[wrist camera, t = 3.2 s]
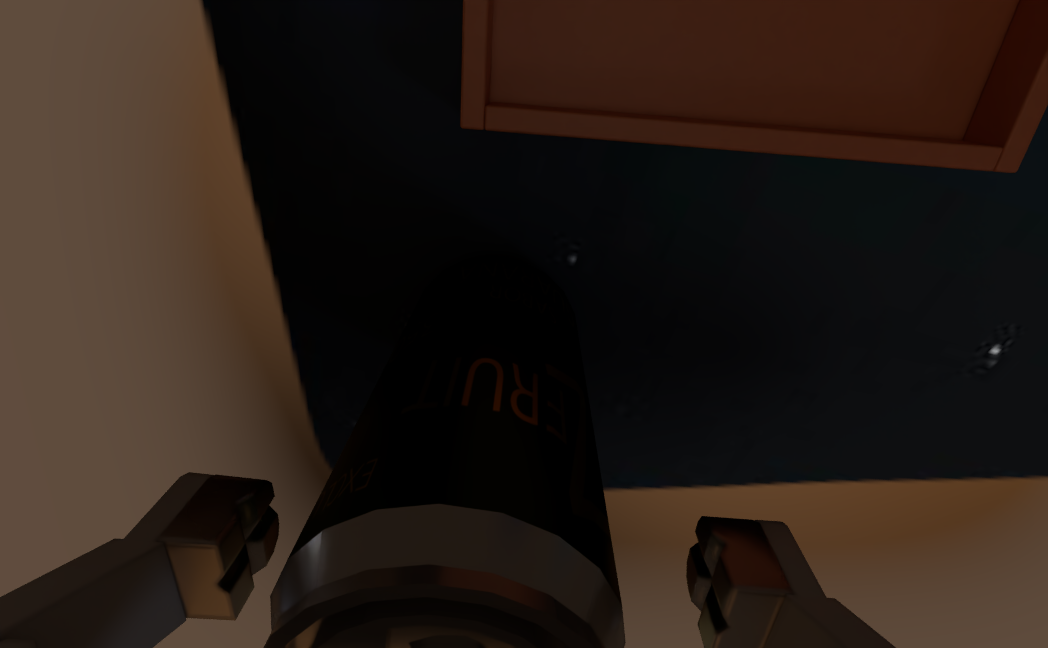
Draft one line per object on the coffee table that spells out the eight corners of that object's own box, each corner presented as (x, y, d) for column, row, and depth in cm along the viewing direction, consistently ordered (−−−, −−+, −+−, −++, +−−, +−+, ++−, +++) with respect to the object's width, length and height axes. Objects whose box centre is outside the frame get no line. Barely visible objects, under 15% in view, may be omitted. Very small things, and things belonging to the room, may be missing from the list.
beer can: (544, 410, 19) (555, 837, 9) (400, 367, 19) (217, 771, 8) (600, 279, 17) (710, 633, 6) (439, 225, 17) (260, 519, 6)
